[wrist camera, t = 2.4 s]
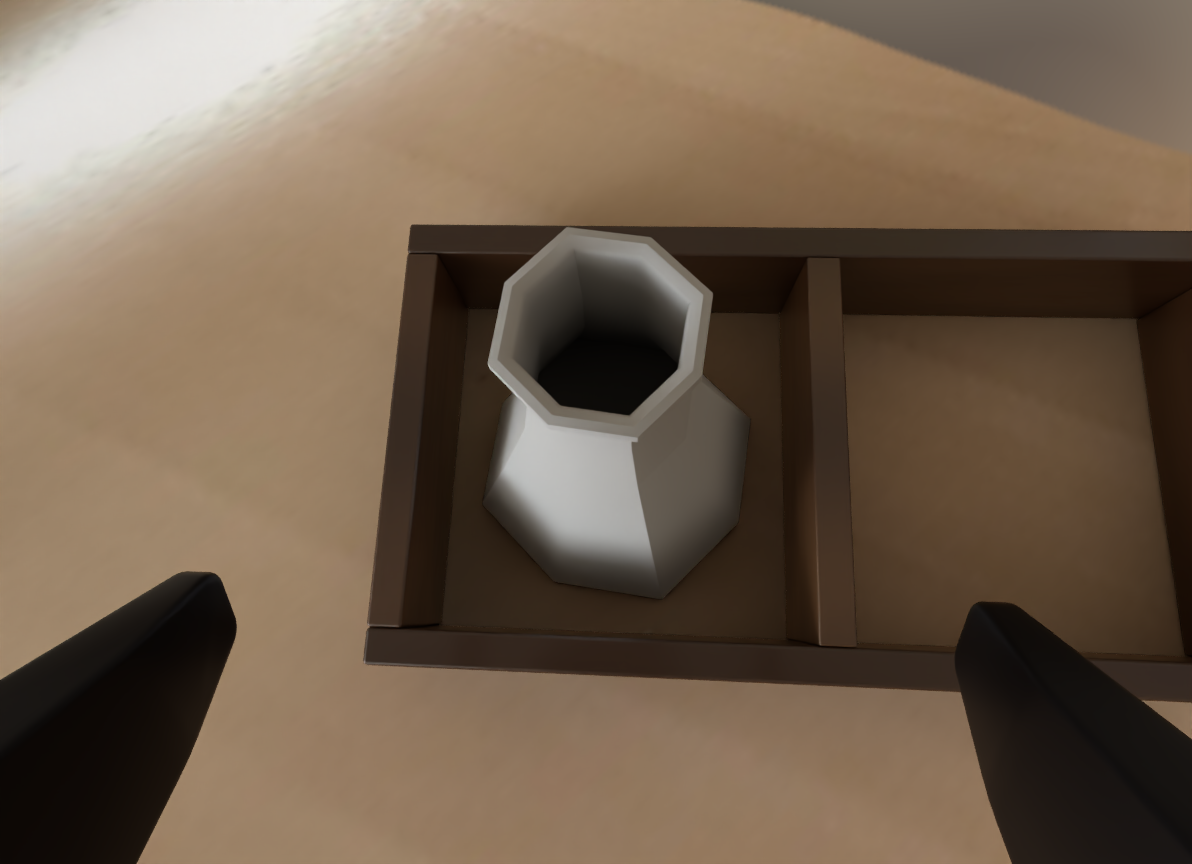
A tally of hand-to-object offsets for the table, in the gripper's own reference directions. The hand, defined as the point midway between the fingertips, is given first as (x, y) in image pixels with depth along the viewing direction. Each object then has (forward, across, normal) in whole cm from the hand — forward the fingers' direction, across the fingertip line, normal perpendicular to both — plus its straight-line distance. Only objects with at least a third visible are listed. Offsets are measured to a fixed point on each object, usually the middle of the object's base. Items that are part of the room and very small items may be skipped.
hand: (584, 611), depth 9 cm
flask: (+10, 0, +5) cm, 12 cm away
